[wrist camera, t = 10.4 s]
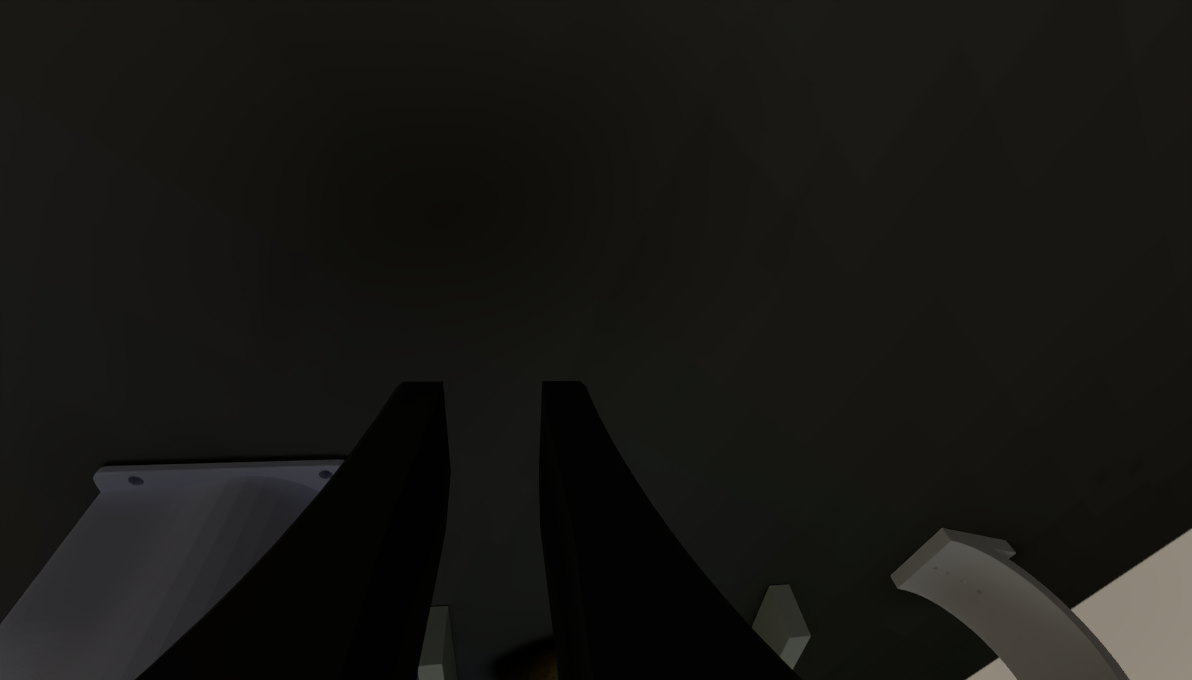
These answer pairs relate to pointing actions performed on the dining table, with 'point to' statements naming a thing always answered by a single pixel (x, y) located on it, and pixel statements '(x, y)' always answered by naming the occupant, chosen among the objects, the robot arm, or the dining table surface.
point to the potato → (535, 667)
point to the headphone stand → (1006, 608)
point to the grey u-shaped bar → (772, 623)
